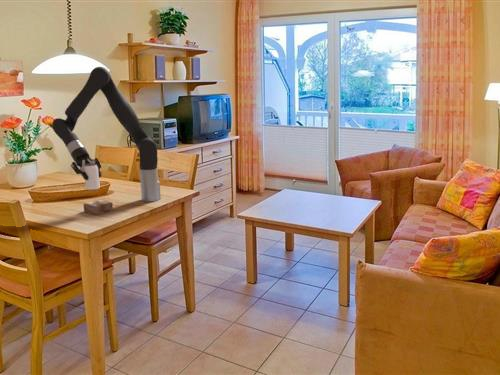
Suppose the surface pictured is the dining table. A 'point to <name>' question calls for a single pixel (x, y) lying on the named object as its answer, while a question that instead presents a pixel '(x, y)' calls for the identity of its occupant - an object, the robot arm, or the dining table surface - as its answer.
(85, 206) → the pedestal
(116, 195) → the dining table surface
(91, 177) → the can
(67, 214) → the dining table surface
